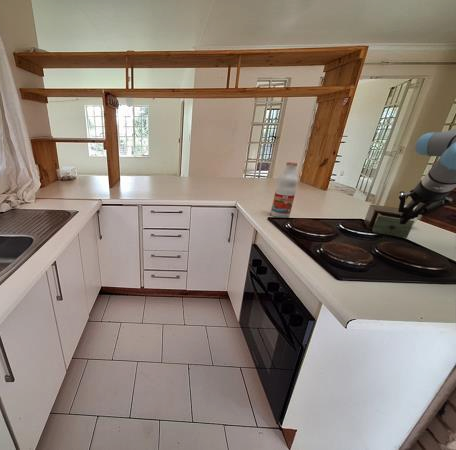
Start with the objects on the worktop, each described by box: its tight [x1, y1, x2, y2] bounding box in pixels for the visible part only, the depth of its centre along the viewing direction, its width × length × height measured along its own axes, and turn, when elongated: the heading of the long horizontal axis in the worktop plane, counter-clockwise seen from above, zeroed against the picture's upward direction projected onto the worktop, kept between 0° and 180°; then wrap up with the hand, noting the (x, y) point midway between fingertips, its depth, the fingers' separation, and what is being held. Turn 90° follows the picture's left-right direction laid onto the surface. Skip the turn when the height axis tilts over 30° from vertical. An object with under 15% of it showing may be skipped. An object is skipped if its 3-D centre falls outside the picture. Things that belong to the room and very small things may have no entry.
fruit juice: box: [270, 161, 299, 219], centre depth 123 cm, size 9×9×28 cm
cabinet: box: [363, 203, 411, 231], centre depth 113 cm, size 15×13×10 cm
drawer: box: [371, 212, 414, 239], centre depth 107 cm, size 15×11×8 cm
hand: (402, 221), depth 93 cm, fingers closed
